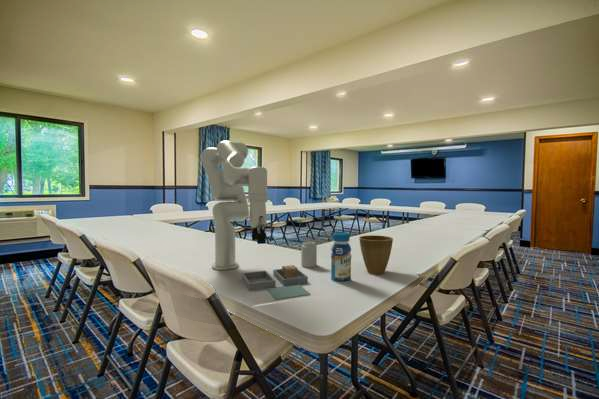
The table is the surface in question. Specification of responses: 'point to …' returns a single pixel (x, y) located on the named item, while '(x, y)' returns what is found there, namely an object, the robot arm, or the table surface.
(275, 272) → the bin
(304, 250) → the can
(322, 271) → the table surface
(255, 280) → the bin
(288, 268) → the letter cube
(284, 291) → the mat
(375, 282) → the table surface
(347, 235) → the beverage bottle
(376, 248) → the plant pot
